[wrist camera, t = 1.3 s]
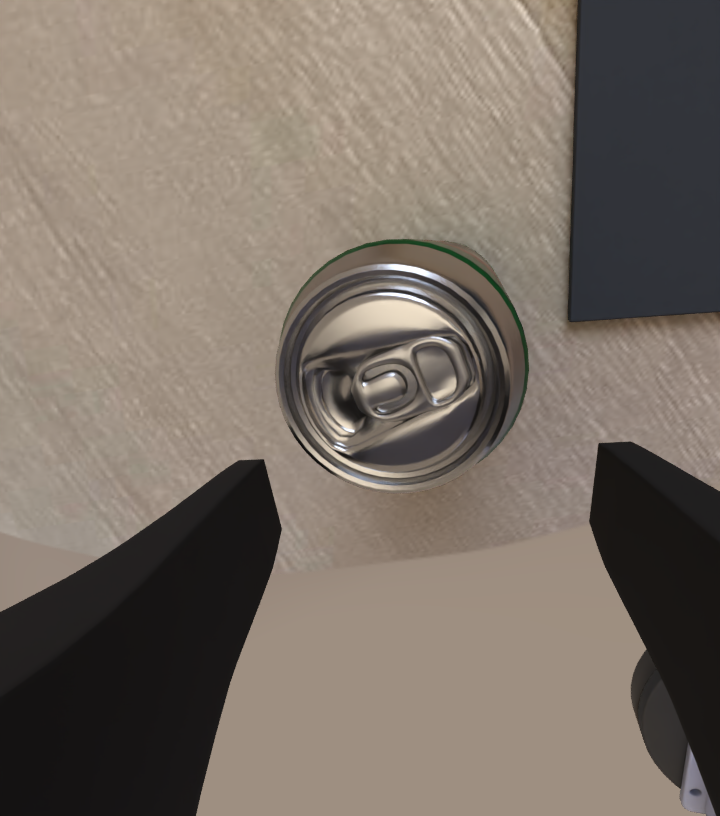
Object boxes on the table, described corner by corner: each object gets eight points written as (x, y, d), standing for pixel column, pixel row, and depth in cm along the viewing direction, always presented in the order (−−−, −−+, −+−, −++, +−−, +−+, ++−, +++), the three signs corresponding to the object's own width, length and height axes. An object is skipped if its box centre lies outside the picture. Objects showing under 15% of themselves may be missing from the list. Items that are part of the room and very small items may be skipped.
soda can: (361, 271, 19) (210, 308, 9) (478, 219, 18) (477, 181, 7) (404, 379, 21) (320, 536, 10) (518, 340, 19) (573, 475, 8)
